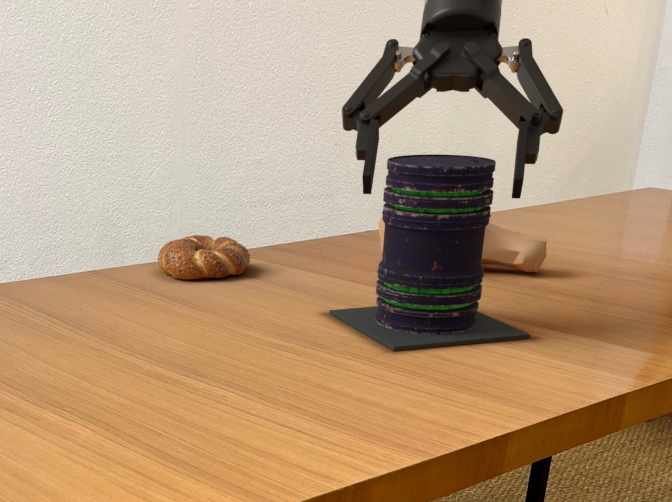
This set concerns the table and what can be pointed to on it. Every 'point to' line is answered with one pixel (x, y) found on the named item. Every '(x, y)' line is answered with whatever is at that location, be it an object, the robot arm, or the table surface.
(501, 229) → the squash
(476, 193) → the dark purple barrel
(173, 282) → the table surface
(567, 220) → the table surface
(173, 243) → the braided bread ring
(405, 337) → the coaster
